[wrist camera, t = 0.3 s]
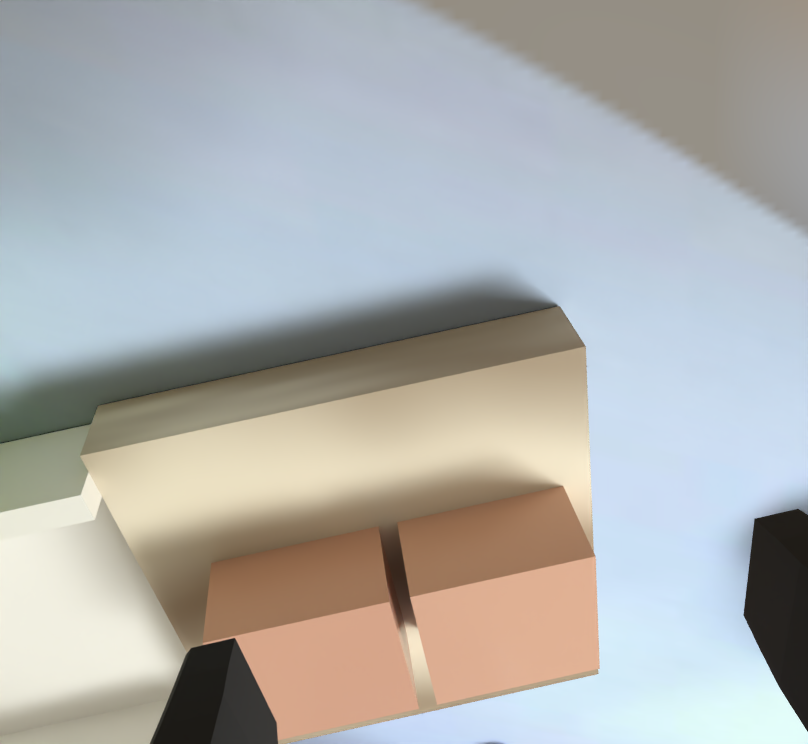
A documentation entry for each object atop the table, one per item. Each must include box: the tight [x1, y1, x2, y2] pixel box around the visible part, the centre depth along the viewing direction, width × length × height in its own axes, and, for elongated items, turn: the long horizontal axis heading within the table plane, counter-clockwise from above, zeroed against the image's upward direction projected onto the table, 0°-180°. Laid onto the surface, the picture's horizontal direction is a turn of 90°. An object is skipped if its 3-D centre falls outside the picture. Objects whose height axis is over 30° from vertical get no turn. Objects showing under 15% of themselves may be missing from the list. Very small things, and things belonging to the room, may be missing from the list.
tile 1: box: [397, 486, 600, 705], centre depth 20 cm, size 4×4×2 cm
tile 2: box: [203, 526, 419, 740], centre depth 20 cm, size 4×4×2 cm
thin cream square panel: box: [80, 306, 598, 744], centre depth 22 cm, size 13×12×2 cm
